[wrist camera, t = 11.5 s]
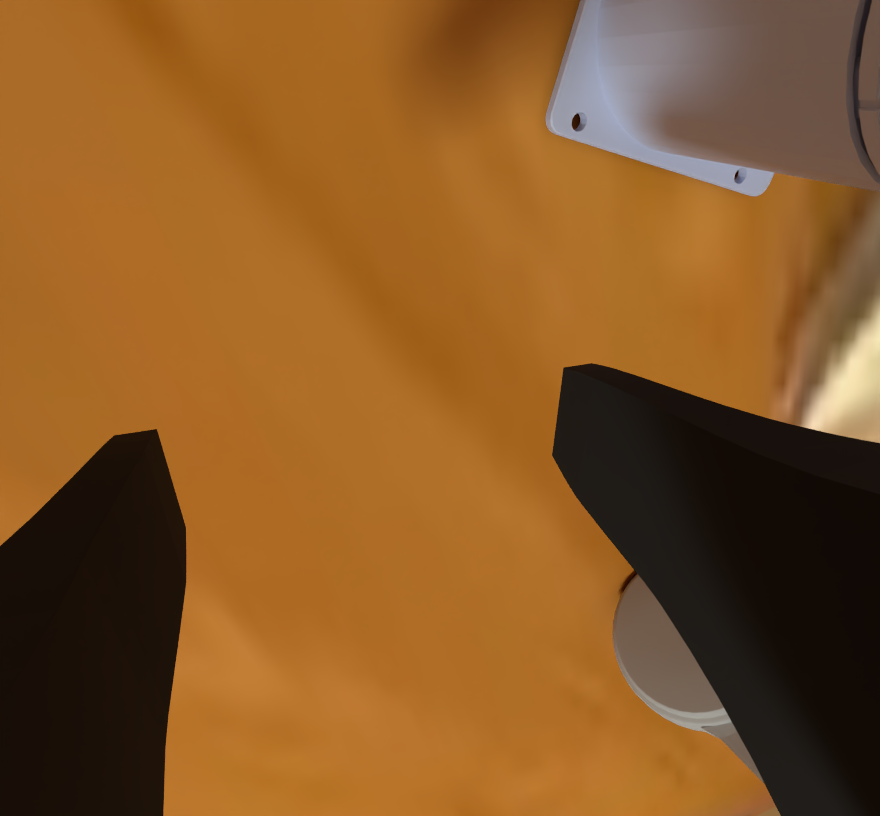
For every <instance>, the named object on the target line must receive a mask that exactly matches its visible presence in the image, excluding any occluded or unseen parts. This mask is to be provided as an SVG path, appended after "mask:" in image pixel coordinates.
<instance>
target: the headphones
mask: <svg viewBox="0 0 880 816" xmlns="http://www.w3.org/2000/svg"><path fill="white" fill-rule="evenodd" d="M613 644H614V650H615V654H616V658H617V662H618V664H619V667H620V669H621V672H622V674H623V675H624V677H625V679H626V681H627V683H628V684H629V686H630V687H631V688H632V689H633V691H634V692H635V693H636V695H637V696H638V697H639V698H640V699H641V700H643V701H644V702H645V703H646V704H647V705H648V706H649V707H650V708H651V709H652V710H654V711H655V712H657V713H658V714H659V715H661V716H662V717H664V718H665V719H667V720H669V721H671V722H673V723H675V724H677V725H680V726H683V727H686V728H689V729H692V730H697V731H704V732H707V733H709V734H711V735H713V736H715V737H717V738H719V739H721V740H722V741H723V742H724V743H725V744H726V745H727V746H728V747H729V748H730V749H731V750H732V751H733V752H734V753H735V754H736V755H737V756H738V757H739V758H740V759H741V760H742V761H743V762H744V763H745V764H746V765H747V766H748V767H749V769H750V770H751V771H752V772H753V773H754V774H755V775H756V776H757V777H758V778H759V779H760V780H761V781H762V782H763V783H764V781H763V779H762V777H761V775H760V773H759V771H758V769H757V767H756V765H755V763H754V761H753V760H752V758H751V756H750V754H749V752H748V751H747V749H746V747H745V745H744V743H743V741H742V740H741V738H740V736H739V734H738V732H737V731H736V729H735V727H734V725H733V723H732V722H731V720H730V718H729V716H728V714H727V712H726V711H725V709H724V707H723V705H722V703H721V702H720V700H719V698H718V696H717V695H716V693H715V691H714V690H713V688H712V686H711V685H710V683H709V681H708V680H707V678H706V676H705V675H704V673H703V671H702V670H701V668H700V666H699V665H698V663H697V661H696V660H695V658H694V656H693V655H692V653H691V651H690V650H689V648H688V646H687V645H686V643H685V642H684V640H683V639H682V637H681V636H680V634H679V632H678V631H677V629H676V628H675V626H674V625H673V623H672V622H671V620H670V618H669V617H668V615H667V614H666V612H665V611H664V609H663V608H662V606H661V605H660V603H659V602H658V600H657V599H656V598H655V596H654V595H653V593H652V592H651V591H650V589H649V588H648V587H647V585H646V584H645V583H644V581H643V580H642V579H641V578H640V576H639V575H638V574H636V576H635V577H634V578H633V579H632V580H631V581H630V582H629V584H628V585H627V587H626V588H625V590H624V592H623V593H622V595H621V597H620V599H619V602H618V605H617V608H616V611H615V616H614V621H613ZM764 784H765V783H764Z"/></svg>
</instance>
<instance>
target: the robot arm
mask: <svg viewBox="0 0 880 816" xmlns="http://www.w3.org/2000/svg"><path fill="white" fill-rule="evenodd" d="M577 113H578V114H579V116H580V124H579V126H578V128H576V129H575V130H574V129H573V128H572V119H573V117H574V115H576V114H577ZM546 125H547V127H548V129H549V131H550V132H552V133H553V134H555V135H559V136H562V137H565V138H568V139H571V140H574V141H578V142H581V143H584V144H587V145H590V146H593V147H597V148H600V149H603V150H606V151H609V152H612V153H616V154H619V155H622V156H625V157H628V158H631V159H635V160H638V161H641V162H644V163H647V164H650V165H654V166H657V167H660V168H663V169H666V170H669V171H673V172H676V173H679V174H682V175H685V176H688V177H692V178H695V179H698V180H701V181H704V182H707V183H711V184H714V185H717V186H720V187H723V188H726V189H730V190H733V191H736V192H739V193H742V194H745V195H749V196H758V195H760V194H762V193H763V192H764V191H765V190H766V189H767V187H768V185H769V183H770V181H771V179H772V177H773V175H774V173H779V174H785V175H790V176H796V177H801V178H807V179H812V180H818V181H823V182H829V183H834V184H840V185H845V186H851V187H856V188H862V189H867V190H873V191H878V192H880V0H580V3H579V7H578V10H577V13H576V17H575V20H574V23H573V26H572V30H571V33H570V36H569V40H568V43H567V46H566V50H565V53H564V56H563V60H562V63H561V66H560V69H559V73H558V76H557V79H556V83H555V86H554V89H553V93H552V96H551V99H550V103H549V106H548V109H547V113H546ZM737 171H739V173H738V176H737V178H736V179H735V180H734V177H735V174H736V172H737ZM552 456H553V458H554V459H555V461H556V463H557V465H558V467H559V469H560V470H561V472H562V474H563V476H564V478H565V479H566V481H567V483H568V484H569V486H570V488H571V489H572V491H573V492H574V494H575V496H576V497H577V498H578V500H579V501H580V502H581V504H582V505H583V506H584V508H585V509H586V510H587V511H588V513H589V514H590V515H591V516H592V518H593V519H594V520H595V522H596V523H597V524H598V525H599V527H600V528H601V529H602V530H603V532H604V533H605V534H606V535H607V537H608V538H609V539H610V540H611V542H612V543H613V544H614V545H615V546H616V548H617V549H618V550H619V551H620V553H621V554H622V555H623V556H624V558H625V559H626V560H627V561H628V563H629V564H630V565H631V566H632V568H633V569H634V570H635V571H636V573H637V574H638V575H639V576H640V578H641V579H642V580H643V581H644V583H645V584H646V585H647V587H648V588H649V589H650V591H651V592H652V593H653V595H654V596H655V598H656V599H657V600H658V602H659V603H660V605H661V606H662V608H663V609H664V611H665V612H666V614H667V615H668V617H669V618H670V620H671V622H672V623H673V625H674V626H675V628H676V629H677V631H678V632H679V634H680V636H681V637H682V639H683V640H684V642H685V643H686V645H687V646H688V648H689V650H690V651H691V653H692V655H693V656H694V658H695V660H696V661H697V663H698V665H699V666H700V668H701V670H702V671H703V673H704V675H705V676H706V678H707V680H708V681H709V683H710V685H711V686H712V688H713V690H714V691H715V693H716V695H717V696H718V698H719V700H720V702H721V703H722V705H723V707H724V709H725V711H726V712H727V714H728V716H729V718H730V720H731V722H732V723H733V725H734V727H735V729H736V731H737V732H738V734H739V736H740V738H741V740H742V741H743V743H744V745H745V747H746V749H747V751H748V752H749V754H750V756H751V758H752V760H753V761H754V763H755V765H756V767H757V769H758V771H759V773H760V775H761V777H762V779H763V781H764V783H765V785H766V787H767V789H768V791H769V793H770V795H771V797H772V799H773V801H774V803H775V805H776V807H777V809H778V811H779V813H780V815H781V816H880V443H875V442H870V441H864V440H859V439H854V438H849V437H844V436H838V435H834V434H829V433H825V432H821V431H817V430H812V429H808V428H804V427H800V426H795V425H791V424H787V423H783V422H779V421H776V420H772V419H768V418H765V417H761V416H758V415H754V414H751V413H748V412H744V411H741V410H738V409H734V408H731V407H728V406H725V405H722V404H718V403H715V402H712V401H709V400H706V399H703V398H700V397H697V396H694V395H691V394H688V393H685V392H682V391H680V390H677V389H674V388H671V387H668V386H665V385H662V384H659V383H656V382H653V381H650V380H648V379H645V378H642V377H639V376H636V375H633V374H630V373H626V372H623V371H620V370H617V369H613V368H610V367H606V366H602V365H597V364H592V363H591V364H585V365H578V366H572V367H565V368H564V369H563V377H562V384H561V392H560V400H559V407H558V415H557V423H556V430H555V438H554V446H553V453H552ZM185 587H186V527H185V523H184V520H183V516H182V513H181V510H180V506H179V503H178V500H177V496H176V493H175V489H174V486H173V483H172V479H171V476H170V472H169V469H168V466H167V462H166V459H165V456H164V452H163V449H162V445H161V442H160V439H159V435H158V432H157V429H155V430H148V431H141V432H135V433H128V434H122V435H115V436H113V437H112V438H111V439H110V440H109V441H108V442H107V443H106V444H104V445H103V446H102V447H101V448H100V449H99V450H98V451H97V452H96V454H95V455H94V456H93V457H92V458H91V459H90V460H89V461H88V462H87V463H86V464H85V465H84V466H83V467H82V468H81V469H80V470H79V471H78V472H77V473H76V474H75V475H74V476H73V477H72V478H71V479H70V480H69V481H68V482H67V483H66V484H65V485H64V486H63V487H62V488H61V489H60V490H59V491H58V492H57V493H56V494H55V495H54V496H53V497H52V498H51V499H50V500H49V501H48V502H47V503H46V504H45V505H44V506H43V507H42V508H41V509H40V510H39V511H38V512H37V513H36V514H35V515H34V516H33V517H32V518H31V519H30V520H29V521H27V522H26V523H25V524H24V525H23V526H22V527H21V528H20V529H19V530H18V531H16V532H15V533H14V534H13V535H12V536H11V537H10V538H9V539H8V540H7V541H5V542H4V543H3V544H2V545H1V546H0V816H163V805H164V772H165V745H166V734H167V723H168V713H169V706H170V699H171V691H172V684H173V677H174V670H175V662H176V655H177V648H178V640H179V633H180V626H181V618H182V611H183V603H184V595H185Z"/></svg>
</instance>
